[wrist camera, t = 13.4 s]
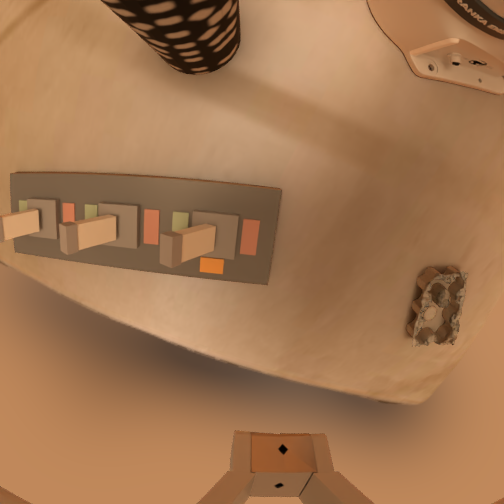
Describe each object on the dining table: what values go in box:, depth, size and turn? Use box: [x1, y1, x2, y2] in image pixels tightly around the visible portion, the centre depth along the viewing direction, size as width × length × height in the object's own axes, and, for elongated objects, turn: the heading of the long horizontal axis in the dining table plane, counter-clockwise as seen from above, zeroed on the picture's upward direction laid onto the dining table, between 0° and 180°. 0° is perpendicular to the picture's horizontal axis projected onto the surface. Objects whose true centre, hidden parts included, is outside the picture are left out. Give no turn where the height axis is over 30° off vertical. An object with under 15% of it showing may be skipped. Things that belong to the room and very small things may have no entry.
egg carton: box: [406, 266, 468, 347], centre depth 35 cm, size 11×8×4 cm
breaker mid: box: [59, 214, 116, 255], centre depth 27 cm, size 1×3×6 cm, turn 173°
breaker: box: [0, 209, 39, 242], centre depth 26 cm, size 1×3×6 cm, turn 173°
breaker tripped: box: [160, 224, 216, 268], centre depth 27 cm, size 1×3×6 cm
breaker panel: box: [10, 172, 282, 285], centre depth 31 cm, size 32×10×2 cm, turn 83°
